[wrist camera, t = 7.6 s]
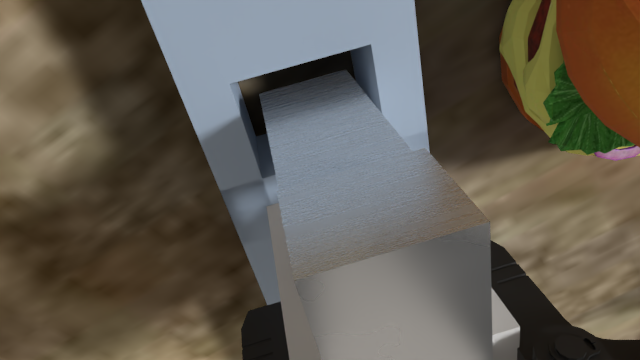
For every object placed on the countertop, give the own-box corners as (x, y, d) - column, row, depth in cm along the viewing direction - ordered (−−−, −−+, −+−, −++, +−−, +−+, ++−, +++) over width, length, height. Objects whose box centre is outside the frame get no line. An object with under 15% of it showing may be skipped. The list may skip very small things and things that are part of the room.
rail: (109, -139, 13) (76, -156, 10) (353, -202, 13) (390, -235, 10) (294, 336, 25) (304, 393, 22) (422, 296, 25) (449, 347, 22)
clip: (254, 79, 14) (294, 280, 6) (343, 54, 15) (490, 221, 7) (315, 275, 19) (383, 533, 11) (382, 255, 19) (495, 496, 11)
